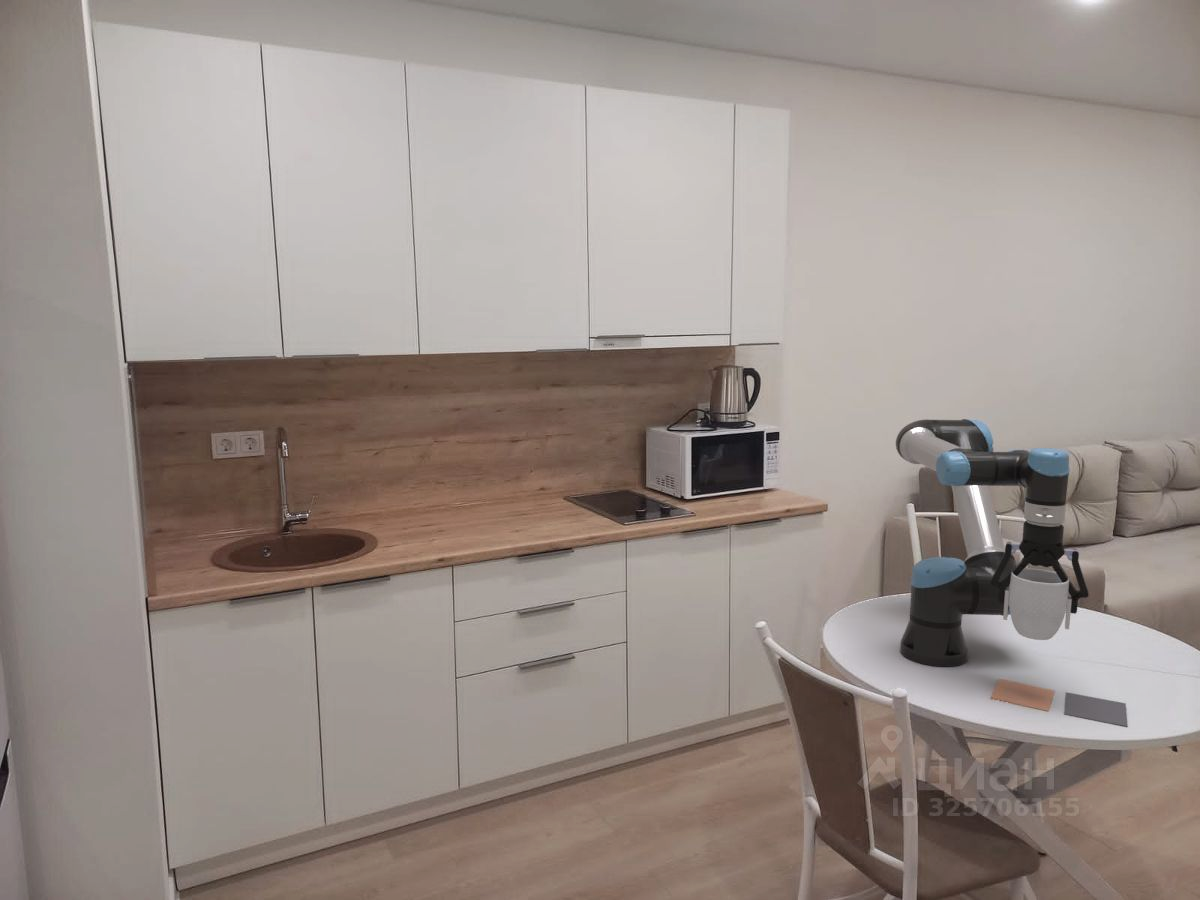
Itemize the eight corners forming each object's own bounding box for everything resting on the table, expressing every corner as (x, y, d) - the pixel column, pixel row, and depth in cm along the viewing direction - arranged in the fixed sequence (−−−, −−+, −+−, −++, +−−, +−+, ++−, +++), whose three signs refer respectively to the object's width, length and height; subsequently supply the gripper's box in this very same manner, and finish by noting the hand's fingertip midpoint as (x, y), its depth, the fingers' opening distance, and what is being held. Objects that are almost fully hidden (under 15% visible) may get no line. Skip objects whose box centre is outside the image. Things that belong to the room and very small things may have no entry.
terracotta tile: (990, 701, 179) (990, 697, 179) (999, 682, 189) (999, 678, 188) (1048, 714, 173) (1048, 710, 172) (1054, 694, 182) (1054, 690, 182)
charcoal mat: (1063, 717, 171) (1064, 713, 171) (1065, 695, 182) (1065, 692, 181) (1127, 730, 166) (1127, 726, 166) (1125, 706, 176) (1125, 703, 176)
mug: (985, 620, 187) (989, 563, 185) (1030, 618, 189) (1035, 562, 187) (1026, 645, 173) (1032, 584, 171) (1075, 643, 174) (1082, 582, 172)
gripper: (981, 519, 178) (974, 618, 181) (1109, 532, 167) (1100, 637, 170) (984, 513, 185) (977, 608, 188) (1107, 525, 174) (1098, 626, 177)
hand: (1035, 622), depth 179 cm, fingers closed on mug, 11 cm apart
